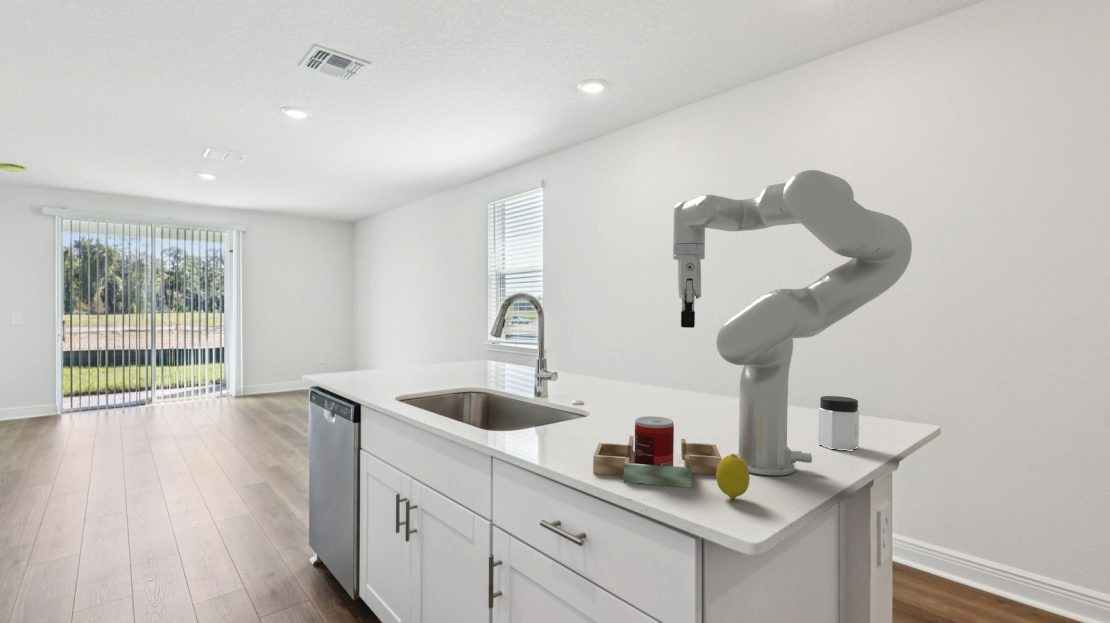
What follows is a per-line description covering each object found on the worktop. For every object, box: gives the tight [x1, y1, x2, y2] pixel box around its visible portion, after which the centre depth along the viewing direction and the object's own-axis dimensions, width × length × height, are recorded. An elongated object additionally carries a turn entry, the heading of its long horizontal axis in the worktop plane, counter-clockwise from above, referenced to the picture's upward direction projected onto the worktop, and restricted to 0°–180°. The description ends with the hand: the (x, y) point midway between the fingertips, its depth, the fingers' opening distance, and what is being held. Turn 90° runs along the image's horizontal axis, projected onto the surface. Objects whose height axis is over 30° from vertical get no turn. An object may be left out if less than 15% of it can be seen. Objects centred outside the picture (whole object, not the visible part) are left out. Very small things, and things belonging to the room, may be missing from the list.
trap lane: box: [592, 435, 722, 489], centre depth 108 cm, size 25×23×4 cm
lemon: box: [715, 453, 750, 500], centre depth 90 cm, size 6×6×8 cm
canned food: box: [634, 415, 675, 466], centre depth 102 cm, size 8×8×11 cm
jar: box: [817, 395, 860, 451], centre depth 126 cm, size 9×8×12 cm
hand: (687, 327), depth 125 cm, fingers closed
